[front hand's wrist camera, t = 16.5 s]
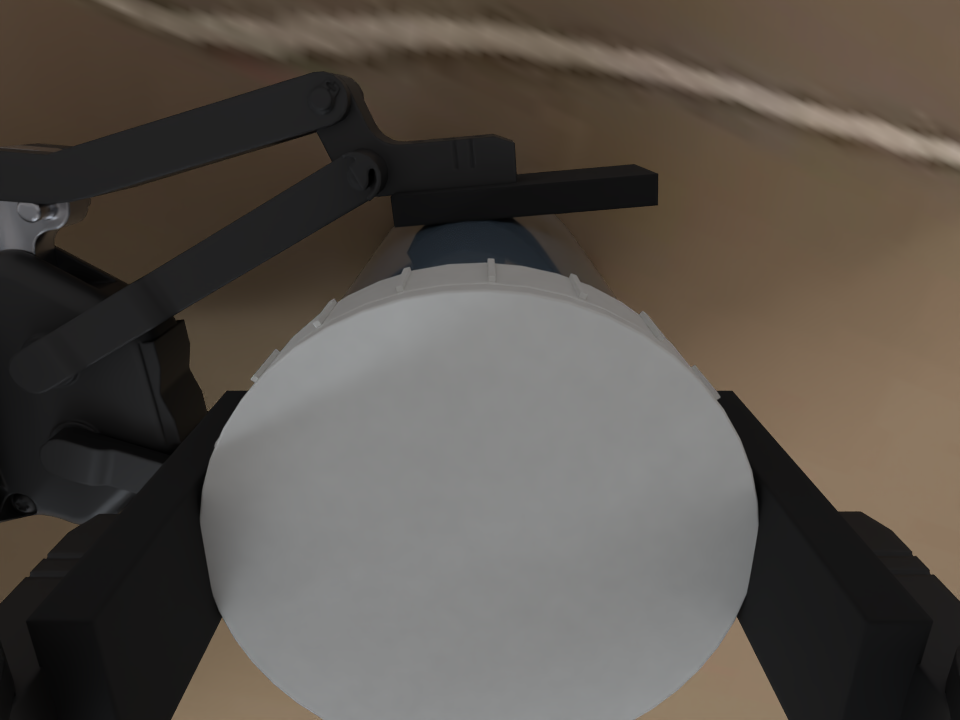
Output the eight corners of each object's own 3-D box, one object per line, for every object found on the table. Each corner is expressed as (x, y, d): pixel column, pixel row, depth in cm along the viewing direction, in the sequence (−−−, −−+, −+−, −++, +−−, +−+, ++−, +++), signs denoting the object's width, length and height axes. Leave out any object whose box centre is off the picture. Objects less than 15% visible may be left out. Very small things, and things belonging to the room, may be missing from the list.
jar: (418, 424, 27) (352, 760, 13) (334, 231, 24) (141, 401, 10) (615, 360, 26) (768, 650, 12) (551, 151, 23) (655, 222, 10)
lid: (722, 668, 14) (754, 742, 12) (288, 704, 14) (264, 781, 13) (733, 230, 11) (778, 253, 9) (173, 290, 11) (121, 322, 9)
